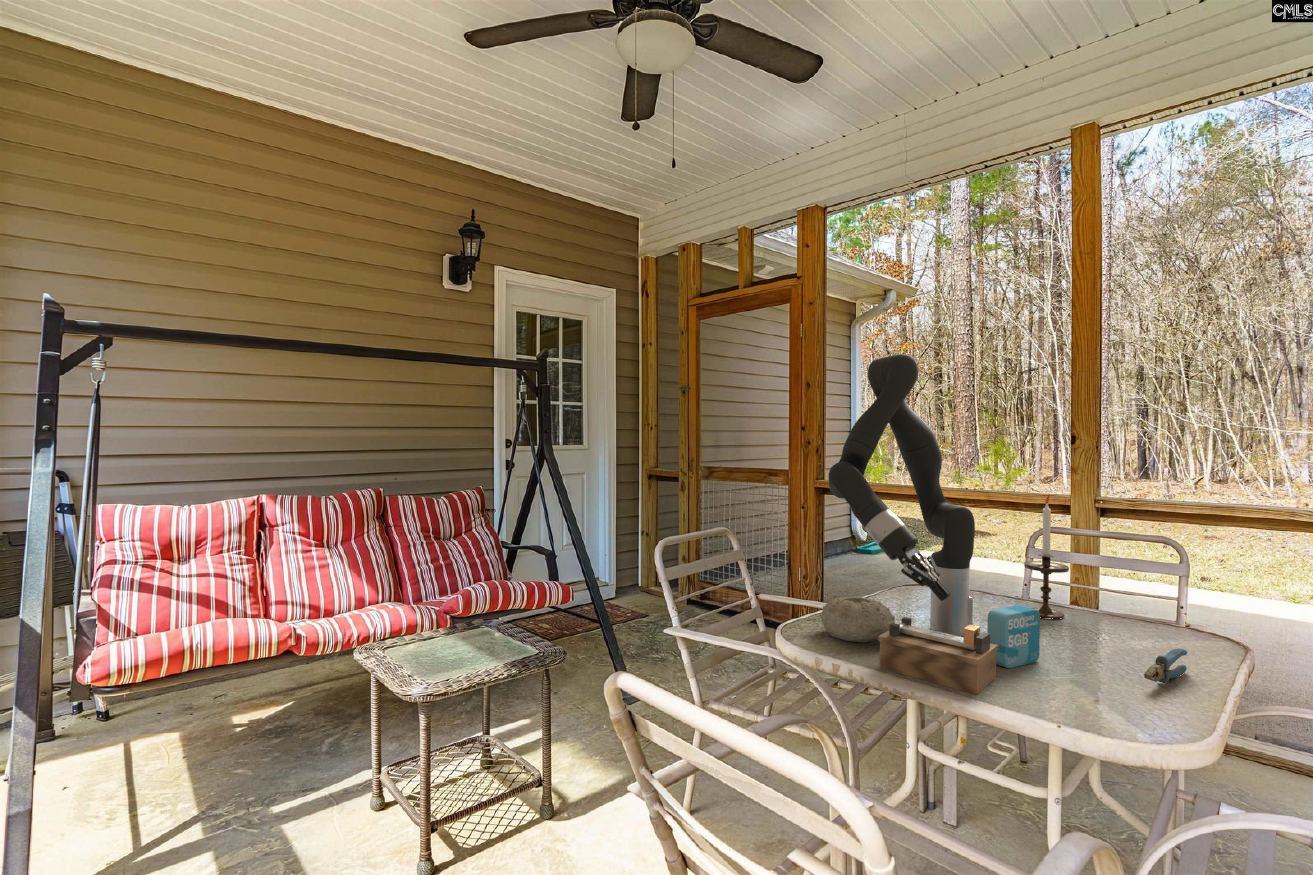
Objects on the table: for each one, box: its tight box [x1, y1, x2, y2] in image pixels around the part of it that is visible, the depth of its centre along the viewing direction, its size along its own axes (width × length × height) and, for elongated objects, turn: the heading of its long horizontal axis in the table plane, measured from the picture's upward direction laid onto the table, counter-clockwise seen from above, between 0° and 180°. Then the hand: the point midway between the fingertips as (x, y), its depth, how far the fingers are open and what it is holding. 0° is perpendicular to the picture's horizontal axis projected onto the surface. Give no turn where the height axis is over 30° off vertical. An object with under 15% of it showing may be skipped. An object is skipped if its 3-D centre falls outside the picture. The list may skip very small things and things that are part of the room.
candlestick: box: [1023, 493, 1070, 619], centre depth 180 cm, size 11×11×35 cm
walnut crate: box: [877, 616, 998, 695], centre depth 136 cm, size 21×13×10 cm, turn 46°
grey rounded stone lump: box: [820, 595, 896, 643], centre depth 159 cm, size 18×18×10 cm
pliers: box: [1143, 648, 1188, 684], centre depth 132 cm, size 20×2×6 cm, turn 123°
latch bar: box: [900, 622, 981, 650], centre depth 136 cm, size 17×4×4 cm, turn 46°
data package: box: [986, 604, 1041, 669], centre depth 143 cm, size 12×4×12 cm, turn 116°
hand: (946, 598), depth 135 cm, fingers closed
